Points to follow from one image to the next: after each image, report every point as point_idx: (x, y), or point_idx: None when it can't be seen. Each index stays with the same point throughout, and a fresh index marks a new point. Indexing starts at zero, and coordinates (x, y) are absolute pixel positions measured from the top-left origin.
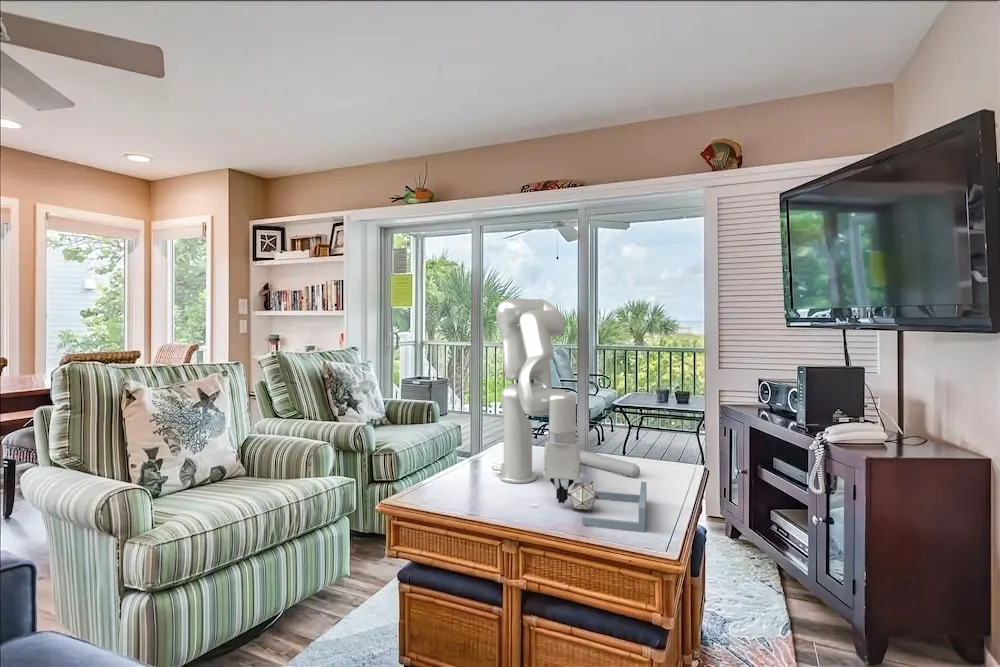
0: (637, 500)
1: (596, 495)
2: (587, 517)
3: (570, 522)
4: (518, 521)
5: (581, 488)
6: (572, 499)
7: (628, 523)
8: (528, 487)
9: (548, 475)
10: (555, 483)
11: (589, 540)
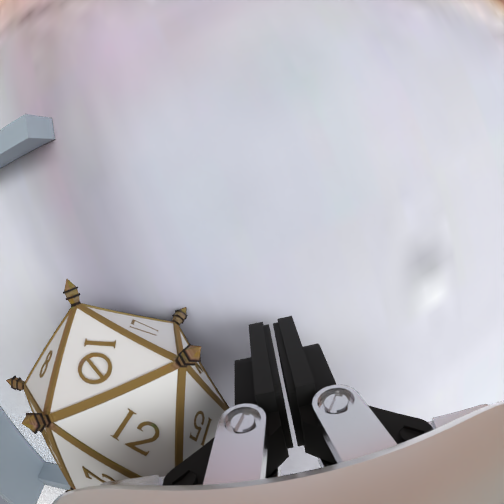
0: (50, 468)
1: (15, 387)
2: (5, 137)
3: (121, 117)
4: (406, 10)
5: (58, 407)
6: (168, 341)
7: None
8: None
9: (498, 422)
10: (364, 417)
11: (7, 3)
